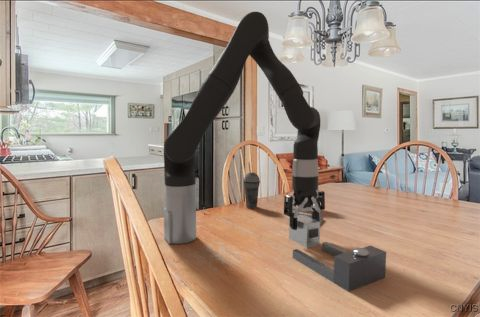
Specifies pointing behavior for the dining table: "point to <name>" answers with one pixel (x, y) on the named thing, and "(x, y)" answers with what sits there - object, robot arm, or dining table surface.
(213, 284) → the dining table surface
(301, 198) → the robot arm
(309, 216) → the woven mat
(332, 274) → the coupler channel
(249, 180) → the beverage cup
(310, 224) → the block
